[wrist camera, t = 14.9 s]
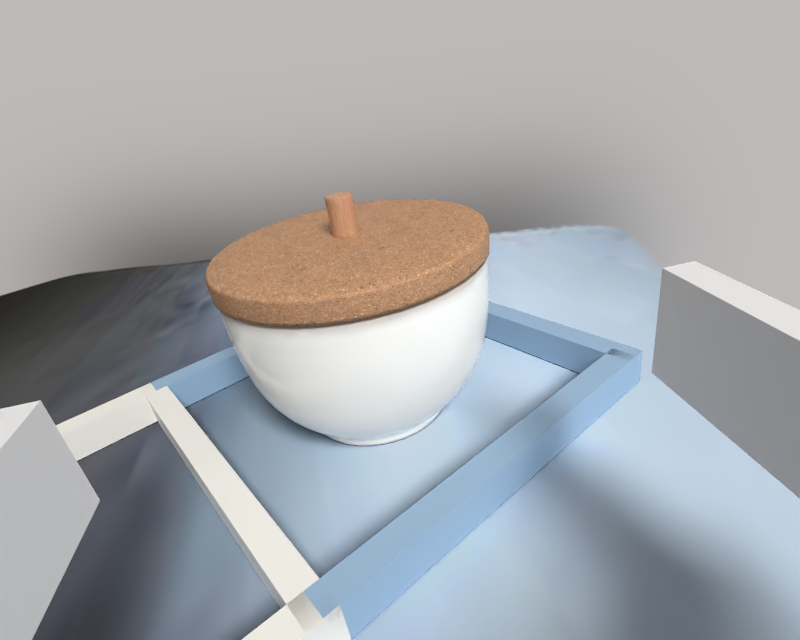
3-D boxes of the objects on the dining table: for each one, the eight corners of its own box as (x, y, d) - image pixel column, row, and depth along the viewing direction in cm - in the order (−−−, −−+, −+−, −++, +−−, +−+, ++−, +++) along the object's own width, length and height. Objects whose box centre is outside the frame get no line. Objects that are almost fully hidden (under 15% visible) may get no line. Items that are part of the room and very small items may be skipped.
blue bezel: (162, 407, 25) (150, 382, 24) (400, 293, 33) (396, 271, 32) (335, 653, 13) (323, 618, 12) (639, 380, 21) (642, 350, 20)
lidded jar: (284, 536, 16) (188, 279, 12) (248, 381, 26) (186, 201, 21) (552, 424, 19) (551, 184, 15) (434, 320, 28) (413, 152, 24)
